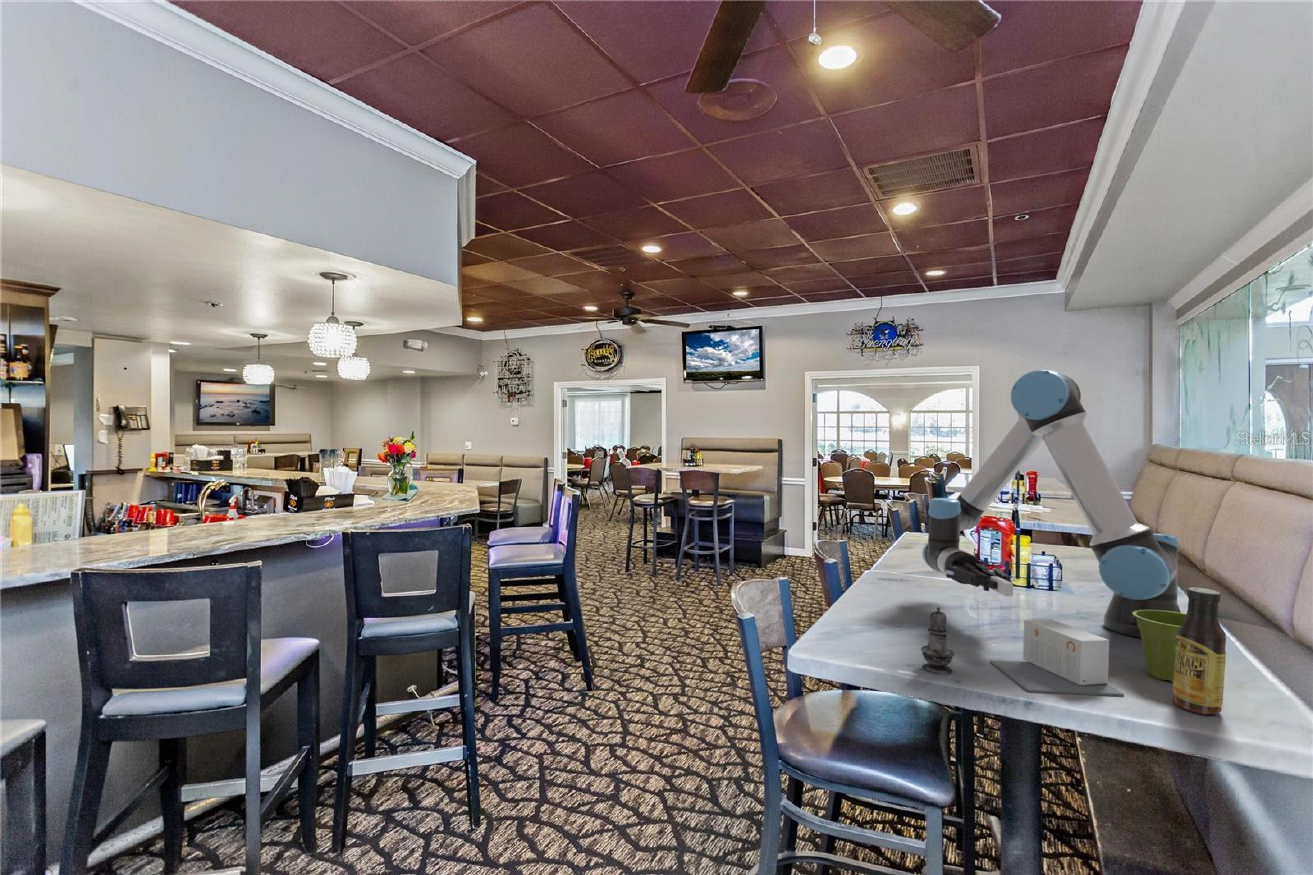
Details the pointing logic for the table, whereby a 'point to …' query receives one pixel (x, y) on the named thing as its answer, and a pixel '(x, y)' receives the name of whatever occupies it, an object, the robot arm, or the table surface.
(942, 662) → the salt shaker
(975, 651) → the table surface
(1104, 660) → the small box
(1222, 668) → the sauce bottle
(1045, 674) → the rubber mat
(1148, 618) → the plant pot
